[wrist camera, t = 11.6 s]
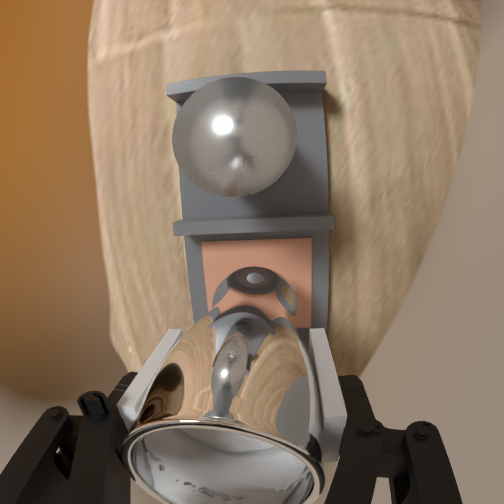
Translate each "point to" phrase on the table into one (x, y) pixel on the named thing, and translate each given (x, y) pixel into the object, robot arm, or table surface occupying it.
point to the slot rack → (266, 211)
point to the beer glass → (233, 405)
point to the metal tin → (234, 137)
